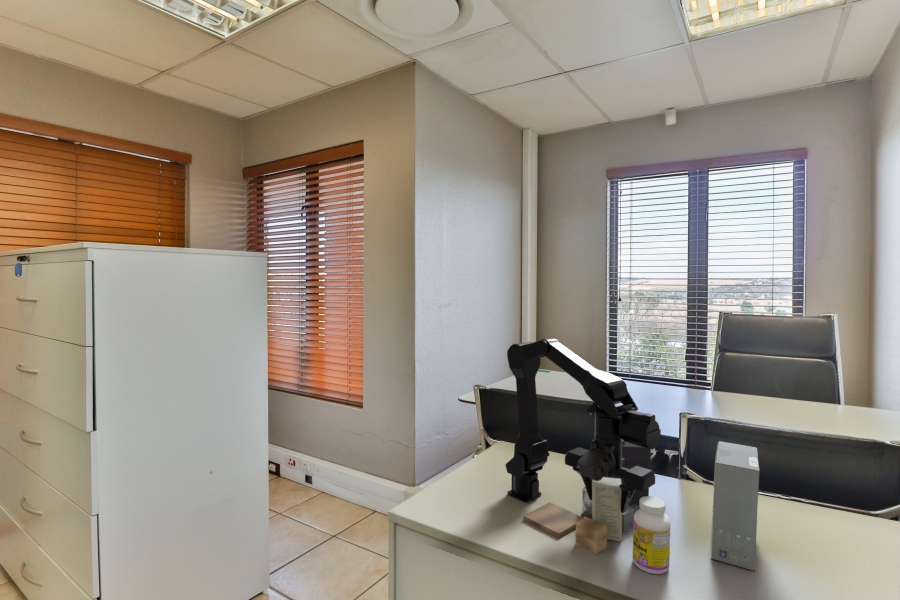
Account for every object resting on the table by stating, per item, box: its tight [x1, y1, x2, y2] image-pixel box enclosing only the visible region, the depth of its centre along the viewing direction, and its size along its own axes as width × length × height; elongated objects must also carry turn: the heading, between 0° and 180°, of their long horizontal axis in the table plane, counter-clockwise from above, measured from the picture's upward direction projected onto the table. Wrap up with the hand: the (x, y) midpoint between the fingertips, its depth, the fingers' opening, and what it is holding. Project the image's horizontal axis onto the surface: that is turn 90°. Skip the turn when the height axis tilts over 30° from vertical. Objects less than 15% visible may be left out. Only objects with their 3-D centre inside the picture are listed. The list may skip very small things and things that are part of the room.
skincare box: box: [592, 477, 623, 542], centre depth 102 cm, size 6×4×12 cm
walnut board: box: [522, 501, 585, 539], centre depth 108 cm, size 10×10×1 cm
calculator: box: [603, 442, 652, 506], centre depth 117 cm, size 11×4×15 cm, turn 84°
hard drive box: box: [710, 440, 760, 571], centre depth 98 cm, size 16×8×20 cm, turn 148°
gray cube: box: [622, 506, 634, 533], centre depth 106 cm, size 4×4×4 cm
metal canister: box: [581, 486, 592, 519], centre depth 111 cm, size 4×4×6 cm
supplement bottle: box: [632, 495, 671, 575], centre depth 92 cm, size 7×7×13 cm
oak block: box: [575, 517, 608, 555], centre depth 99 cm, size 5×4×4 cm
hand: (606, 505), depth 102 cm, fingers closed on skincare box, 7 cm apart
